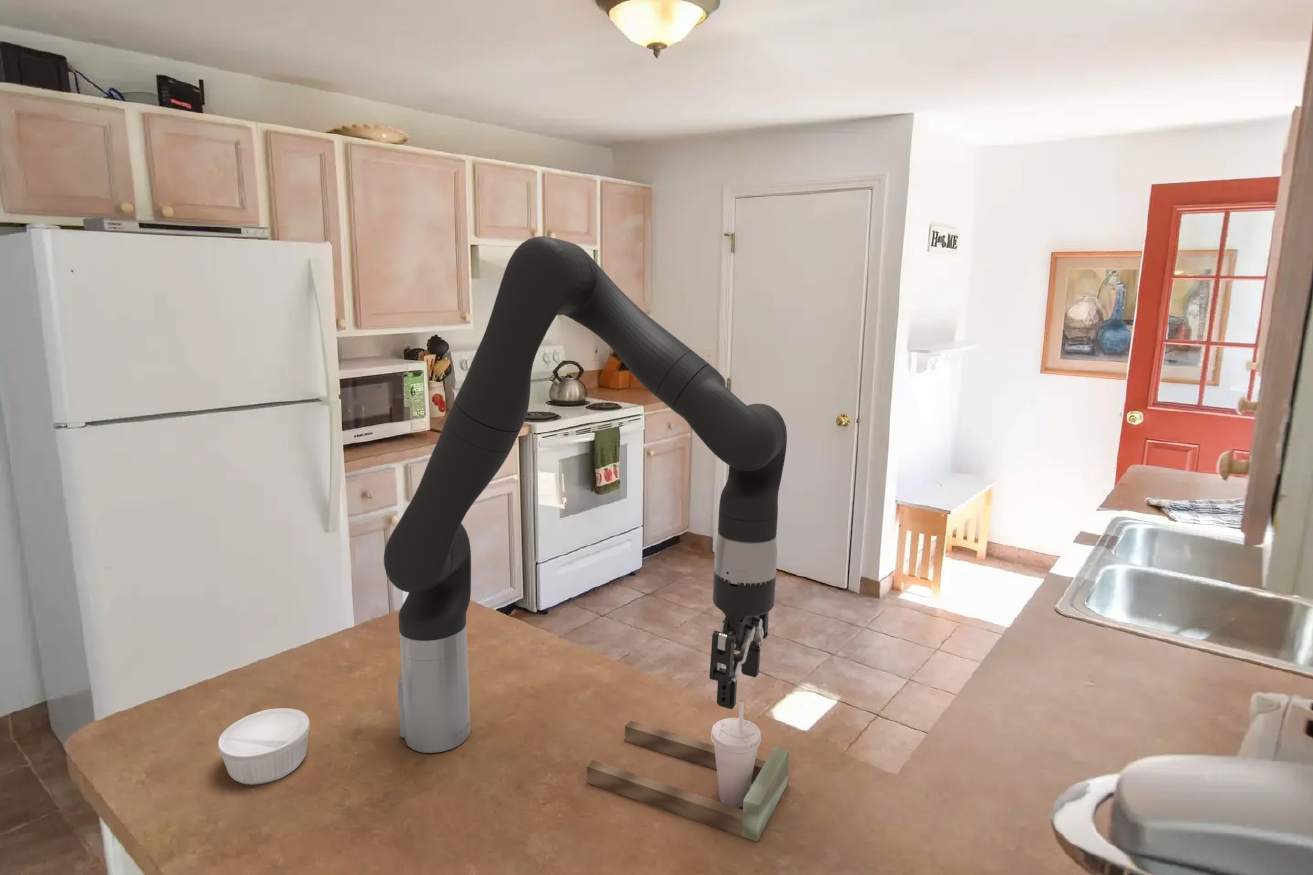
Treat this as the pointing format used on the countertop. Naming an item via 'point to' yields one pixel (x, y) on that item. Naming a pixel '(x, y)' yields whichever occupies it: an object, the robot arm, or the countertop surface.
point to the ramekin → (265, 745)
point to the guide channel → (744, 822)
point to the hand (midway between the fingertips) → (738, 689)
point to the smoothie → (735, 756)
